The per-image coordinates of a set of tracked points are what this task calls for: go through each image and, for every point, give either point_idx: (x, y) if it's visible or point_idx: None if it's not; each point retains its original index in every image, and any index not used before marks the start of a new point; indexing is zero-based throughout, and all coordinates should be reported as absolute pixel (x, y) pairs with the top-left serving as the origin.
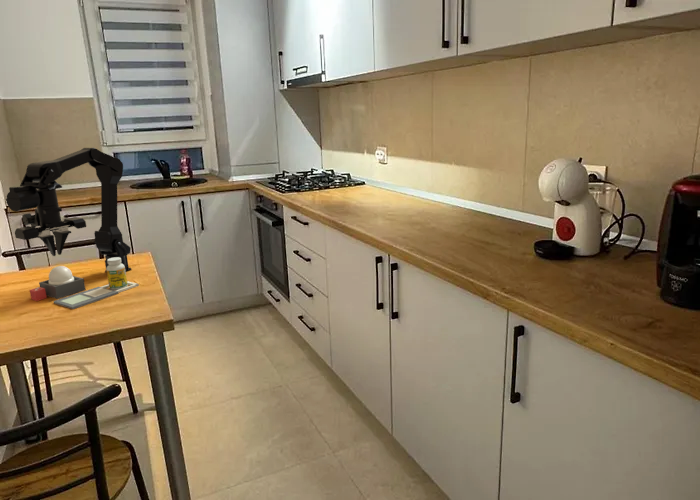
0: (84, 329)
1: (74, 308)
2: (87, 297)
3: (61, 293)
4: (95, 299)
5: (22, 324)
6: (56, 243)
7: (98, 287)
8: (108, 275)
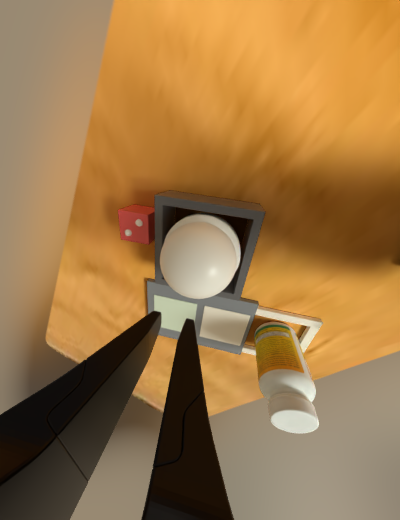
0: None
1: None
2: None
3: None
4: None
5: (75, 304)
6: (167, 395)
7: (252, 307)
8: (258, 363)
